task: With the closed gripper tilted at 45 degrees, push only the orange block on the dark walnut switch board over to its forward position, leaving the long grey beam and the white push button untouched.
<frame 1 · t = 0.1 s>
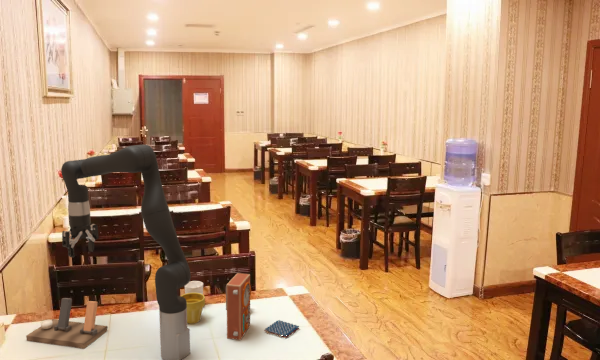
hand: (81, 254, 189), 29 cm above the table, tool pointing down, fingers open, 8 cm apart
switch board: (68, 335, 186), on the table
control panel: (238, 332, 191), on the table
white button: (46, 324, 187), point 3 cm above the table, slide at 0.0 cm
orange block: (90, 317, 184), point 8 cm above the table, hinge at -18.0°
woven mat: (281, 332, 193), on the table
plant pot: (192, 320, 200), on the table
long grey beam: (64, 314, 186), point 8 cm above the table, hinge at -18.0°
white cup: (194, 306, 213), on the table
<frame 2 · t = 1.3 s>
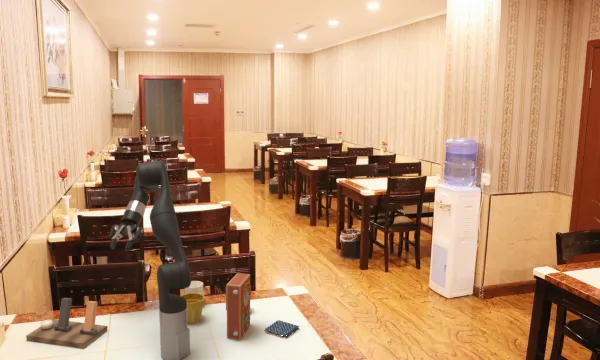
hand: (119, 249, 198), 28 cm above the table, tool tilted 45°, fingers open, 6 cm apart
nothing on the table moved.
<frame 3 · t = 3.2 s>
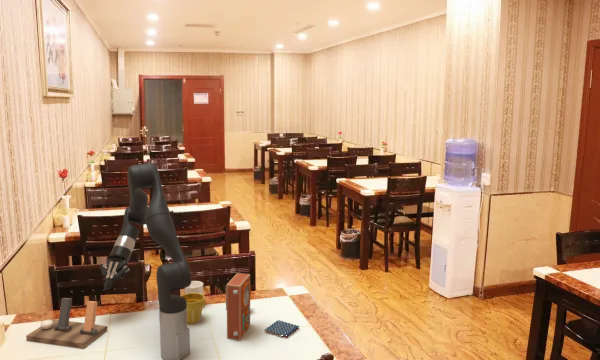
hand: (106, 288, 193), 15 cm above the table, tool tilted 45°, fingers closed
nothing on the table moved.
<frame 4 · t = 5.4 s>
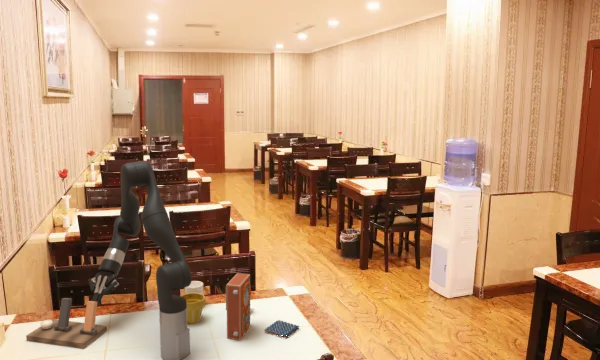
hand: (94, 303, 186), 12 cm above the table, tool tilted 45°, fingers closed
orange block: (90, 317, 184), point 8 cm above the table, hinge at -17.2°, touching gripper
everything else where it was.
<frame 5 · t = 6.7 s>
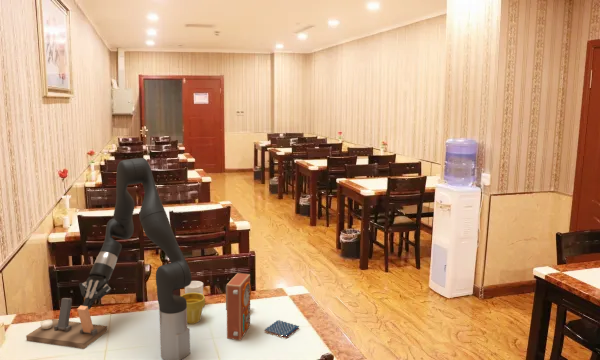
hand: (85, 309, 181), 12 cm above the table, tool tilted 45°, fingers closed
orange block: (85, 320, 181), point 8 cm above the table, hinge at 14.5°, touching gripper
everything else where it was.
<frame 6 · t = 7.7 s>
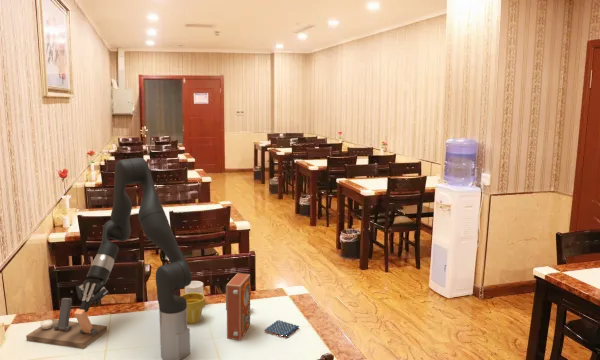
hand: (82, 312, 179), 12 cm above the table, tool tilted 45°, fingers closed
orange block: (84, 322, 180), point 7 cm above the table, hinge at 25.4°, touching gripper
everything else where it was.
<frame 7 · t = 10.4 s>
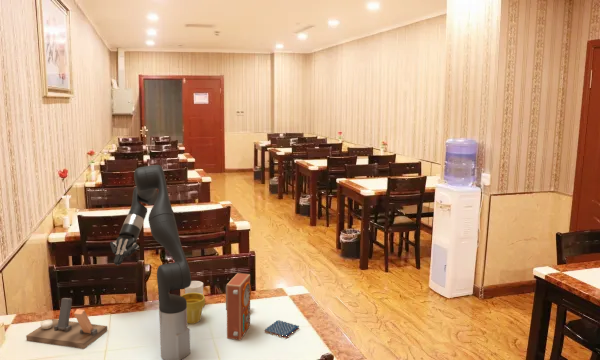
hand: (116, 264, 199), 22 cm above the table, tool tilted 45°, fingers closed
orange block: (84, 322, 180), point 7 cm above the table, hinge at 25.7°
everything else where it was.
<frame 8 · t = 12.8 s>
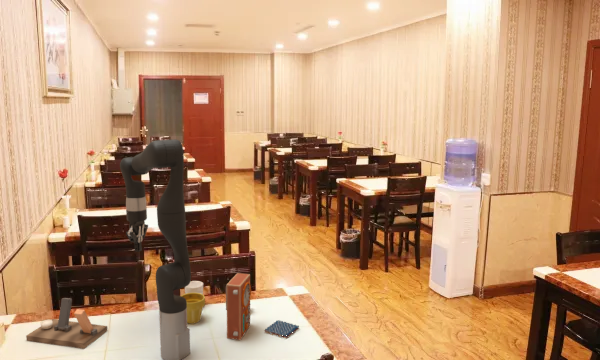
hand: (138, 251, 195), 29 cm above the table, tool pointing down, fingers closed
nothing on the table moved.
at the end: orange block at +26° (first picture: -18°); long grey beam at -18° (first picture: -18°); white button slide at 0.0 cm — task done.
